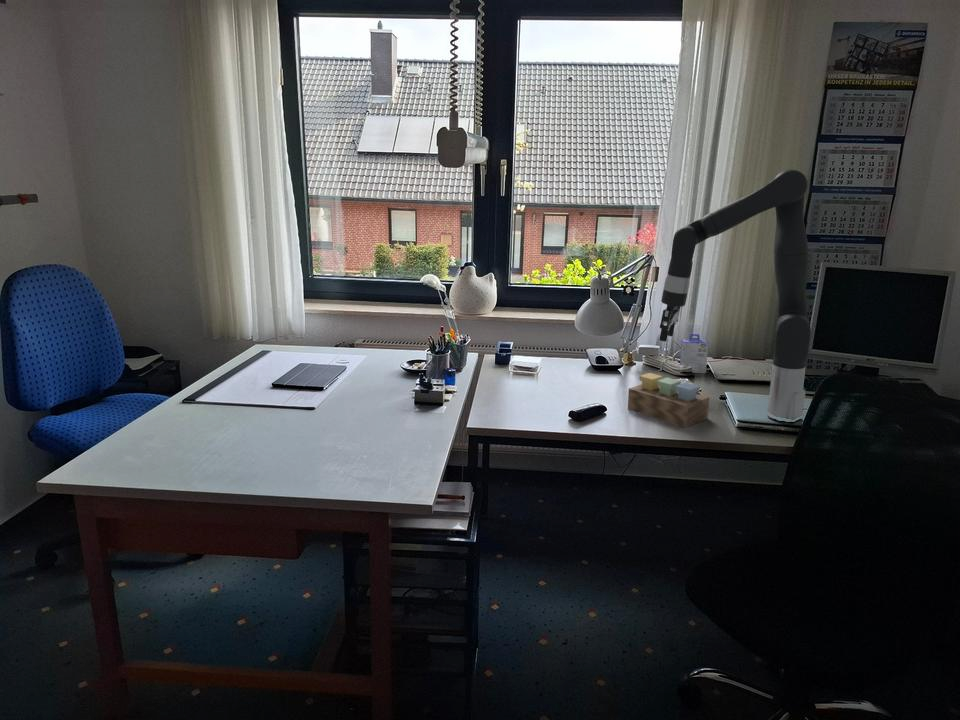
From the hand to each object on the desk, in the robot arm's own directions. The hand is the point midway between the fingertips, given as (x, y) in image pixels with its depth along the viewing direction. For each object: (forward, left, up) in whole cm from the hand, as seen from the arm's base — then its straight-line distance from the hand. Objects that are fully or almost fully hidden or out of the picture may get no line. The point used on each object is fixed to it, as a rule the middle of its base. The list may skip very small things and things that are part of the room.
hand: (666, 338), depth 215 cm
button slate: (-13, +6, -19) cm, 24 cm away
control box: (-6, +6, -23) cm, 24 cm away
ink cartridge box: (+16, -40, -23) cm, 49 cm away
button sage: (-6, +6, -19) cm, 21 cm away
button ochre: (+1, +6, -19) cm, 20 cm away
